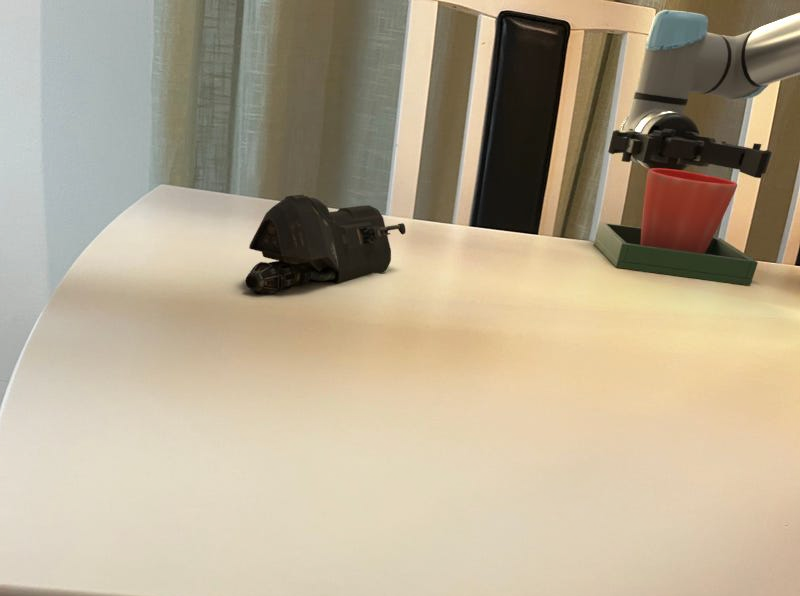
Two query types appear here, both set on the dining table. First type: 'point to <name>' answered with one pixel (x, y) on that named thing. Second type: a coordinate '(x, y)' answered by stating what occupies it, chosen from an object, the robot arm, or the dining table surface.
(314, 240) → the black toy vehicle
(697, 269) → the plant tray
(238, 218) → the dining table surface
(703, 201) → the flower pot
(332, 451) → the dining table surface
